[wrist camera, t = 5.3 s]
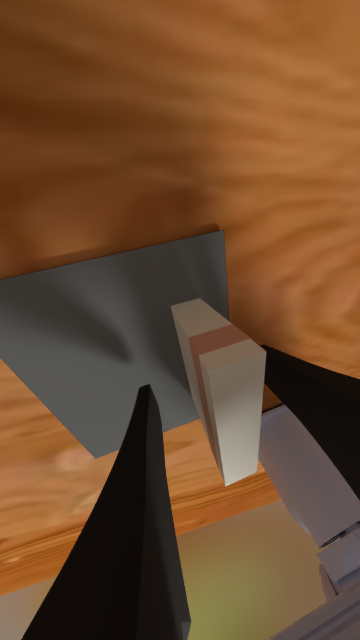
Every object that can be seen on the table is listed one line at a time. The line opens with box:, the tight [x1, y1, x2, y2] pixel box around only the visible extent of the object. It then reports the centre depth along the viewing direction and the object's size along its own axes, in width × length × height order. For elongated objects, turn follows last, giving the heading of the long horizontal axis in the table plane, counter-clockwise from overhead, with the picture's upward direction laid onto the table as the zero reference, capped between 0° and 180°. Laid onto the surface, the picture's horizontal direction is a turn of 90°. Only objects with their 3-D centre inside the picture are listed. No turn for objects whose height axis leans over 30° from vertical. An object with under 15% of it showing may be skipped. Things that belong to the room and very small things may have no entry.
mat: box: [0, 230, 229, 459], centre depth 12 cm, size 16×14×1 cm
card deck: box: [171, 298, 266, 486], centre depth 10 cm, size 9×2×6 cm, turn 11°
